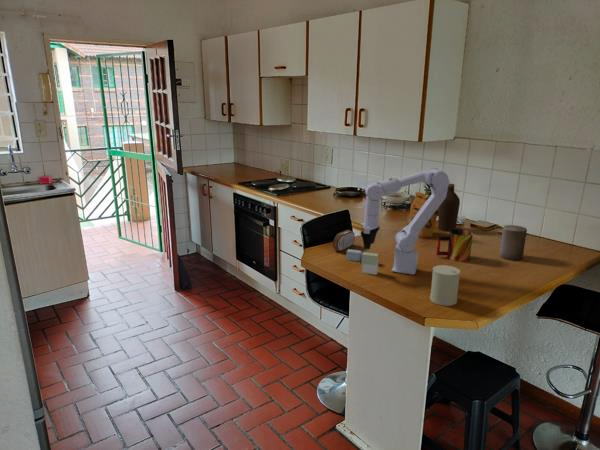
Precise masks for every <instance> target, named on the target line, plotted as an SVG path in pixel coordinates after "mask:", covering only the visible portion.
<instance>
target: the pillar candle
mask: <svg viewBox="0 0 600 450" xmlns="http://www.w3.org/2000/svg"><path fill="white" fill-rule="evenodd" d="M527 232H528V229H527V228H526V227H524V226H522V225H521V226H520V225H513V224H507V225H504V226H503V227H502V233H501V234H502V235H501V241H500V249H499V257H500V258H503V259H506V260H510V261H522V260H523V259H524V252H525V247H526V246H525V245H526V238H527Z"/></svg>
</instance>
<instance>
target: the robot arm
mask: <svg viewBox="0 0 600 450" xmlns="http://www.w3.org/2000/svg"><path fill="white" fill-rule="evenodd" d="M419 183H424V184H425V185H429V186H430V187H429V188H430V193H431V195H429V196H430V197H429V198H428V200H427V201H426V202H425V204H424V205H423V206H422V208H421V209H420V210H419V212H418V213H417V214H416V216H415V217H414V218H413V220H412V221H411V222H410V224H409V223H408V225H406V226H405V227H403V228H402V229H401V230H400V231H398V232H397V233H396V234H395V235H394V241H395V243H396V245H395V248H394V257H393V258H394V260H393V266H392V269H391V272H395V273H400V274H408V275H413V276H414V275H415V274H416V273H417V270H418V261H419V260H418V259H419V251H418V250H414V248H415V246H416V244H417V242H418V239H419V236H418V235H419V232H420V231H421V230H422V228H423V227H424V226H425V224H426V223H427V222H428V221H429V219H430V218H431V217H432V215H433V214H434V215H435V213H436V211H437V210H439V206H440V205H441V203H442V202H443V201H444V199H445V198H446V195H447V190H448V185H449V184H451V183H450V178H449V176H448V174H447V172H445V171H442V170H441V169H439V168H437V167H432V168H429V169H424V170H421V171H418V172H415V173H413V174H410V175H407V176H404V177H402V178H396V177H391V176H390V177H388V178H387V179H386V180H383V181H376V182H375V183H370V184H368V185H367V186H366V188H365V189H364V193H365V201H364V202H365V204H364V205H365V206H364V215H363V217H364V218H363V222H361V223H360V226H362V227H363V228H364V230H361V231H360V236H361V238H362V242H363V243H362V244H363V249H364V250H370V249H371V245H373V244H374V243H375V240H376V237H377V234H378V232H379V230H380V226H379V220H380V219H379V218H380V208H381V207H380V206H381V204H380V203H381V202H380V200H381V198H382V197H385V196H389V195H392V194H395V193H399V191H400V189H402V188H403V187H407V186H411V185H415V184H419Z"/></svg>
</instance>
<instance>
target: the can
mask: <svg viewBox="0 0 600 450" xmlns="http://www.w3.org/2000/svg"><path fill="white" fill-rule="evenodd" d="M460 275H461V270H460V269H459V268H457V267H455V266H451V265H446V264H439V265H435V266H433V267H432V277H431V288H430V296H429V300H430V302H433V303H434V304H435V305H438V306H444V307H445V306H446V307H449V306H455V305H456V304H457V302H458V292H459V283H460Z"/></svg>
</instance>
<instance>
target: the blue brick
mask: <svg viewBox="0 0 600 450" xmlns="http://www.w3.org/2000/svg"><path fill="white" fill-rule="evenodd" d="M362 253H363V252H362V250H358V249H349V248H347V249H346V257H345V258H346V259H345V260H346V261H353V262H361V254H362Z"/></svg>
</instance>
